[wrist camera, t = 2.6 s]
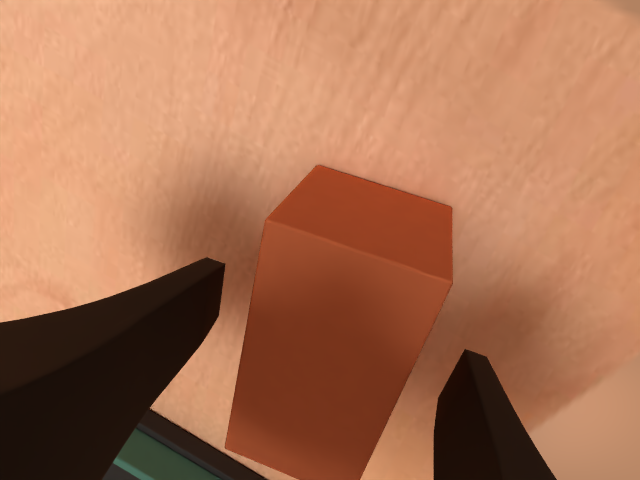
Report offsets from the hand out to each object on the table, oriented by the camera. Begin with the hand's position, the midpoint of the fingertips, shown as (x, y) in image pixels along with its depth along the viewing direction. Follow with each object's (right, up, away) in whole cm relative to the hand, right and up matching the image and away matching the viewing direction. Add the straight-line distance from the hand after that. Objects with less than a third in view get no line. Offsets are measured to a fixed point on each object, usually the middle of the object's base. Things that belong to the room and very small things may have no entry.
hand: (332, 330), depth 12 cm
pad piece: (+1, +1, +2) cm, 2 cm away
